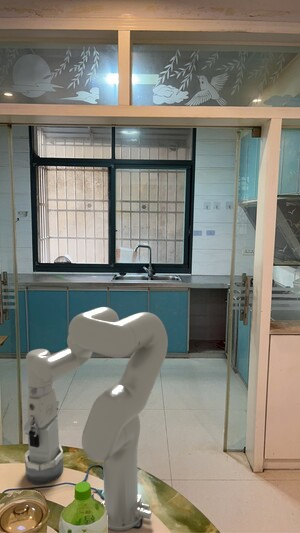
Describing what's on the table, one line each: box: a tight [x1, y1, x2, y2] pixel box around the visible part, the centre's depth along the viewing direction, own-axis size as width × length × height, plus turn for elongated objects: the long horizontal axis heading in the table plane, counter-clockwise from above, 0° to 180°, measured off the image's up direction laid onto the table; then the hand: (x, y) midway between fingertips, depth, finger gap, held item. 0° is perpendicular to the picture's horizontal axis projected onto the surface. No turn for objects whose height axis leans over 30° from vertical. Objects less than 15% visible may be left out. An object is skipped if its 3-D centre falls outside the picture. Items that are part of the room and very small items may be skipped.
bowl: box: [24, 444, 64, 486], centre depth 121 cm, size 12×12×7 cm
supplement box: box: [27, 417, 60, 464], centre depth 120 cm, size 7×7×13 cm
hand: (44, 437), depth 119 cm, fingers open, 9 cm apart
